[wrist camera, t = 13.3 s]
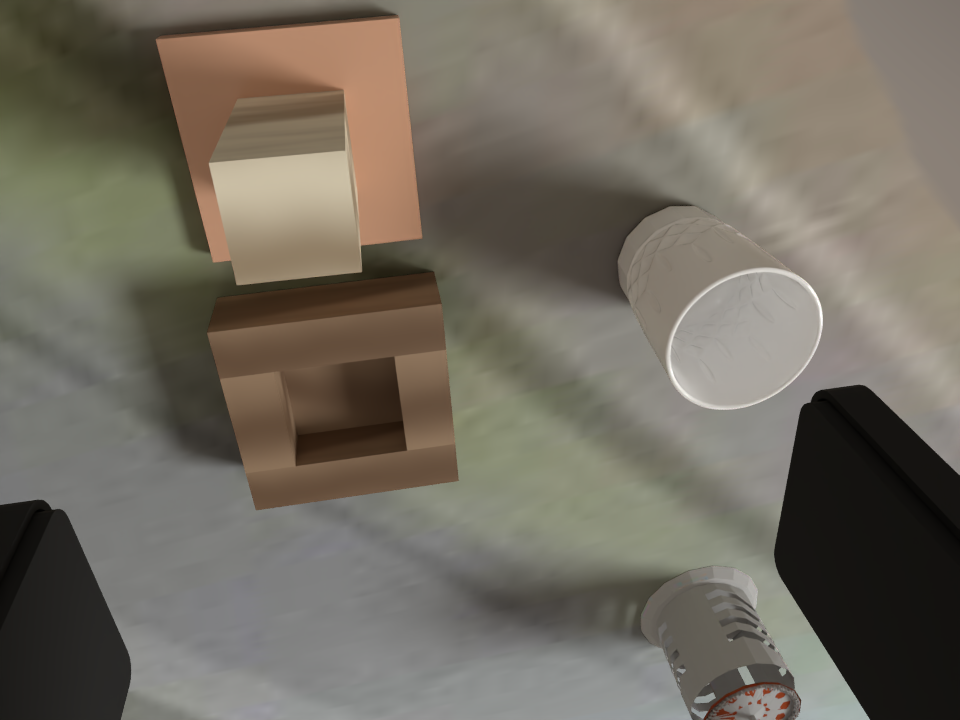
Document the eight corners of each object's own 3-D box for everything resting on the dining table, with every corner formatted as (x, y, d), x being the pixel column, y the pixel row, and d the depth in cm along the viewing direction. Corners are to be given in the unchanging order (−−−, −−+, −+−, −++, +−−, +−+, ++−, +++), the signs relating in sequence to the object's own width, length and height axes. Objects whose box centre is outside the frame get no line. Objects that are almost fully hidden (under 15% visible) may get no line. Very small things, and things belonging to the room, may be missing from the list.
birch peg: (237, 98, 38) (208, 162, 29) (343, 89, 38) (345, 150, 30) (258, 199, 40) (236, 285, 32) (357, 190, 41) (362, 272, 32)
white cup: (666, 340, 50) (733, 435, 41) (579, 270, 46) (633, 358, 38) (762, 246, 47) (854, 327, 39) (677, 166, 44) (758, 235, 36)
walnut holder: (216, 297, 44) (206, 332, 40) (433, 271, 45) (441, 303, 42) (261, 467, 50) (255, 510, 47) (450, 440, 51) (458, 480, 48)
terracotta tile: (159, 35, 37) (155, 39, 36) (398, 14, 38) (399, 18, 37) (215, 254, 43) (213, 262, 42) (420, 231, 44) (422, 238, 43)
